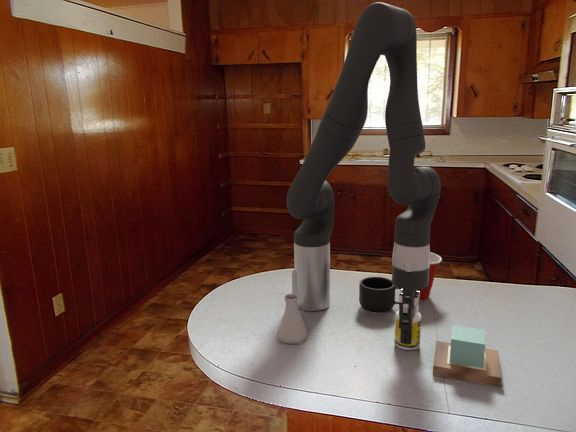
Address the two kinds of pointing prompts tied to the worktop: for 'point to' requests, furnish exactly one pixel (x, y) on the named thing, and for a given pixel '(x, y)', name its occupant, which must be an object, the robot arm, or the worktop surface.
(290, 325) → the flask
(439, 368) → the base board
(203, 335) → the worktop surface
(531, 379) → the worktop surface
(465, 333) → the teal block
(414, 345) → the supplement bottle
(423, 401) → the worktop surface
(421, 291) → the plastic cup
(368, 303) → the mug
